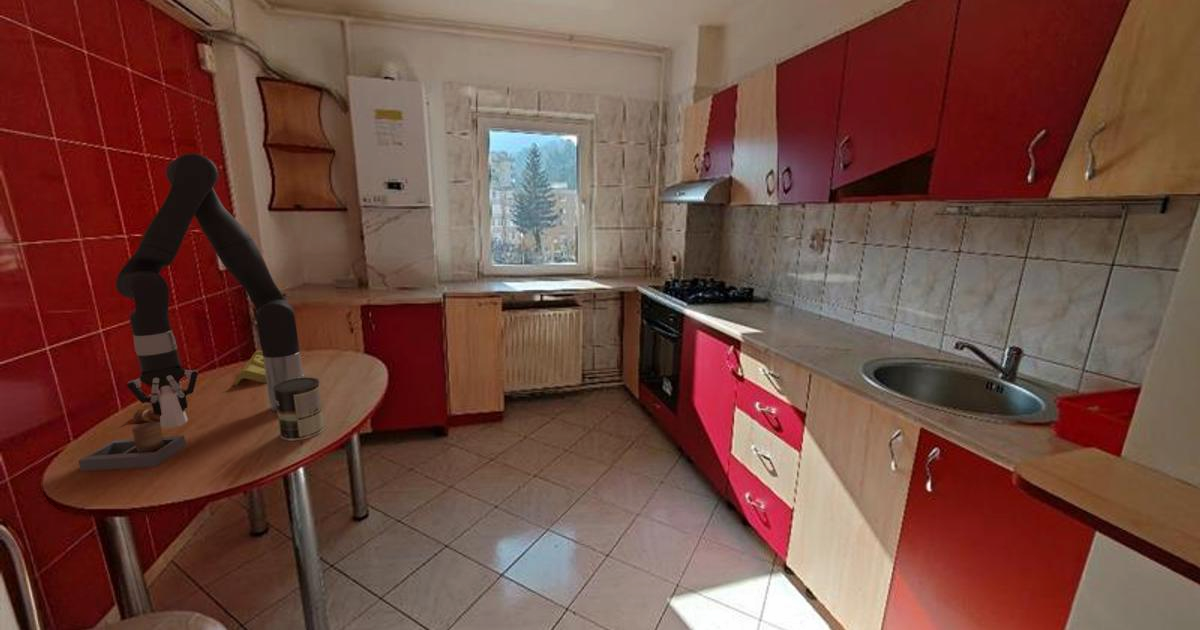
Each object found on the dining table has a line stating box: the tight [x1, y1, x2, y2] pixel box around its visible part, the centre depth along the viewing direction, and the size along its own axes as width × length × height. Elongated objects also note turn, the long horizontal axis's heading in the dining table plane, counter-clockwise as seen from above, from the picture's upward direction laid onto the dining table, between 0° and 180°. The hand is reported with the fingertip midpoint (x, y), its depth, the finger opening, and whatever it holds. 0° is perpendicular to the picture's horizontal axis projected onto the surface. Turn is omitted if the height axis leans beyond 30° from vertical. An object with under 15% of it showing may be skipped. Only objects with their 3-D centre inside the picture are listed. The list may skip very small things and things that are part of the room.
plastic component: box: [232, 350, 267, 387], centre depth 169 cm, size 20×7×10 cm
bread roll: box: [132, 403, 160, 425], centre depth 135 cm, size 12×11×4 cm
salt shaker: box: [158, 385, 189, 429], centre depth 120 cm, size 5×5×11 cm
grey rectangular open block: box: [78, 435, 187, 472], centre depth 112 cm, size 15×10×4 cm, turn 99°
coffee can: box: [273, 377, 325, 442], centre depth 126 cm, size 10×10×14 cm
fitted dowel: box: [131, 422, 165, 453], centre depth 111 cm, size 5×5×8 cm
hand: (171, 412), depth 121 cm, fingers closed on salt shaker, 3 cm apart
